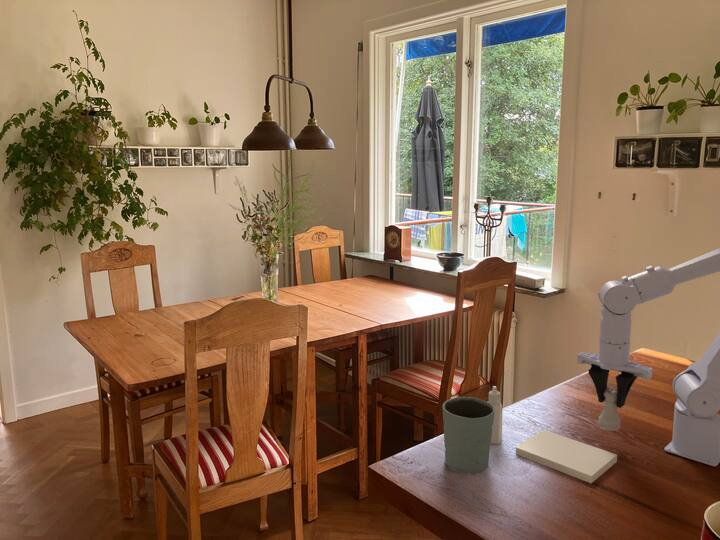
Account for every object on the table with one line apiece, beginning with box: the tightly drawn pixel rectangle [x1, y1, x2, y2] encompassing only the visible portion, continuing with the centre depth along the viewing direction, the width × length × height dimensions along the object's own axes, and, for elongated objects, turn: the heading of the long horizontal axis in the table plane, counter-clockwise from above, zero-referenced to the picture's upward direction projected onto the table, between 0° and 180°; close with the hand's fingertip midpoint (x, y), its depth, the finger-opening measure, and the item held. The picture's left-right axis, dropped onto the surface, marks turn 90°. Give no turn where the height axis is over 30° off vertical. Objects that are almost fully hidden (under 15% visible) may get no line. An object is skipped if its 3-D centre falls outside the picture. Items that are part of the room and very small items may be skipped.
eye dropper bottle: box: [488, 385, 503, 445], centre depth 125 cm, size 4×6×12 cm
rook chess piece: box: [597, 387, 621, 431], centre depth 121 cm, size 4×4×8 cm
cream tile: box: [515, 429, 618, 484], centre depth 118 cm, size 16×11×2 cm
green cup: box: [441, 396, 495, 474], centre depth 116 cm, size 10×10×12 cm
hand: (611, 403), depth 120 cm, fingers closed on rook chess piece, 3 cm apart
